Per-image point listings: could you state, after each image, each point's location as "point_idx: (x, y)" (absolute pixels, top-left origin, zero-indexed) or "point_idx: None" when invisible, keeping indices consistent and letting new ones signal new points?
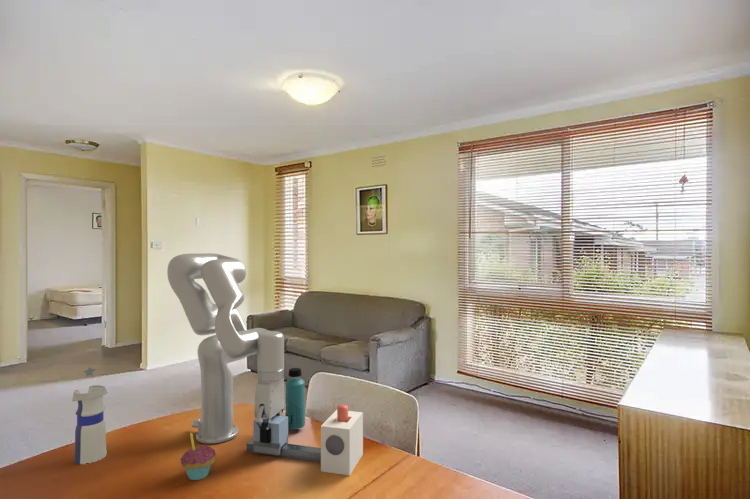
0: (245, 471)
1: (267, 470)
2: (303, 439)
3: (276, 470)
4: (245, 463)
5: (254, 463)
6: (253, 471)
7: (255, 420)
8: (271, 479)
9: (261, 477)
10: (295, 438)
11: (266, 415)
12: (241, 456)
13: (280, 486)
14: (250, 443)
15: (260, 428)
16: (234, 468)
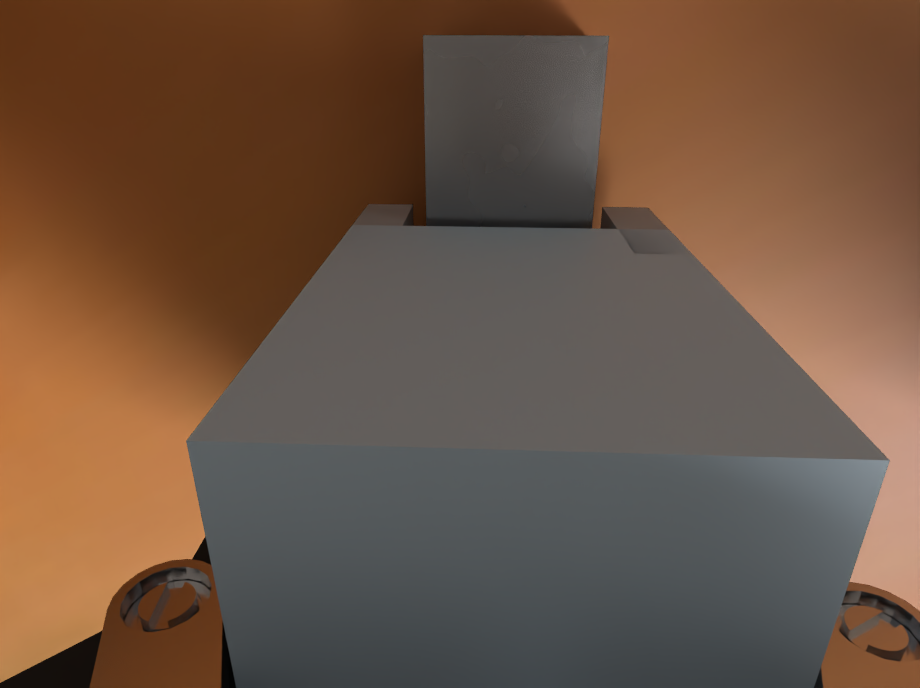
0: (38, 297)
1: (160, 482)
2: (881, 546)
3: (197, 549)
4: (174, 201)
5: (218, 302)
6: (81, 373)
7: (254, 475)
8: (57, 568)
9: (37, 487)
10: (910, 463)
11: (734, 597)
12: (303, 38)
13: (16, 655)
14: (440, 109)
15: (130, 616)
16: (20, 136)
